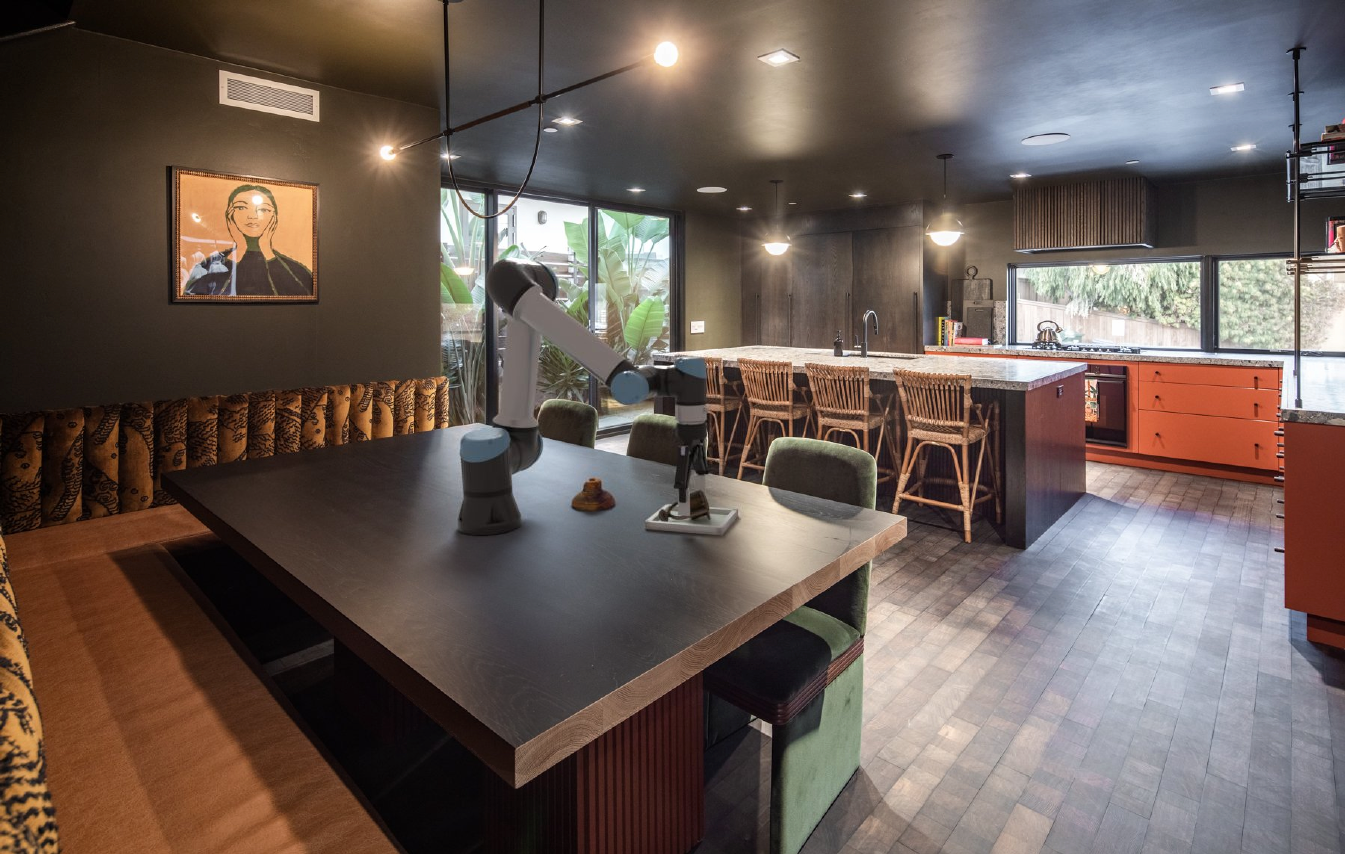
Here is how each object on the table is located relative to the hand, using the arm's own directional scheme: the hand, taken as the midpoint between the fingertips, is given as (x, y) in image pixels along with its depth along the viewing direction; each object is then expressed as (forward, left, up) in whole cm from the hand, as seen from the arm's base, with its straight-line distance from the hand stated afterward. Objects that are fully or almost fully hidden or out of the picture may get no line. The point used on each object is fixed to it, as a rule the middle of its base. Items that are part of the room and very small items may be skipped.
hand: (692, 507), depth 174 cm
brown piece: (-2, 0, -3) cm, 4 cm away
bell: (-30, +8, -4) cm, 32 cm away
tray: (0, 0, -4) cm, 4 cm away
